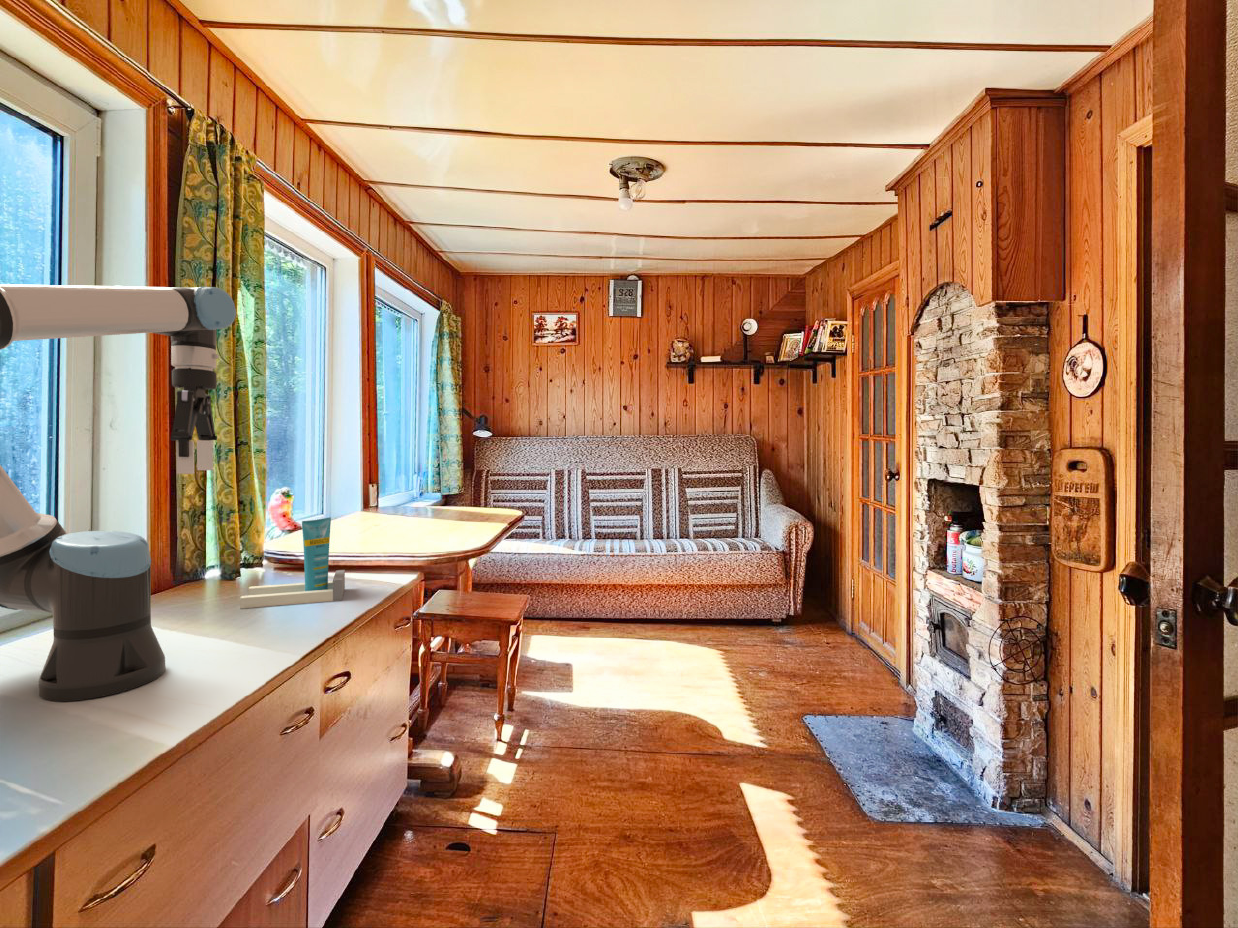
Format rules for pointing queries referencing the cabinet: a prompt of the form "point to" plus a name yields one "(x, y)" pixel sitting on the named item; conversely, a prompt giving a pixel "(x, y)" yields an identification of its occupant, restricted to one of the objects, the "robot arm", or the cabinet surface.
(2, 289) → the robot arm
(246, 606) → the track
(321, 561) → the tube
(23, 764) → the cabinet surface
